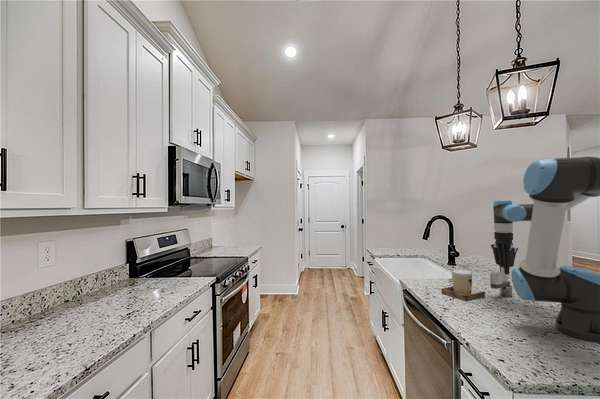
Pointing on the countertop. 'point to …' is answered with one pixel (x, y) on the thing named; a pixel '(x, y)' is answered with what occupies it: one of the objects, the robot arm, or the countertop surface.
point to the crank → (497, 281)
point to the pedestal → (506, 291)
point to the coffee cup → (462, 281)
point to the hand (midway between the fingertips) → (504, 280)
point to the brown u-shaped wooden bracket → (450, 292)
